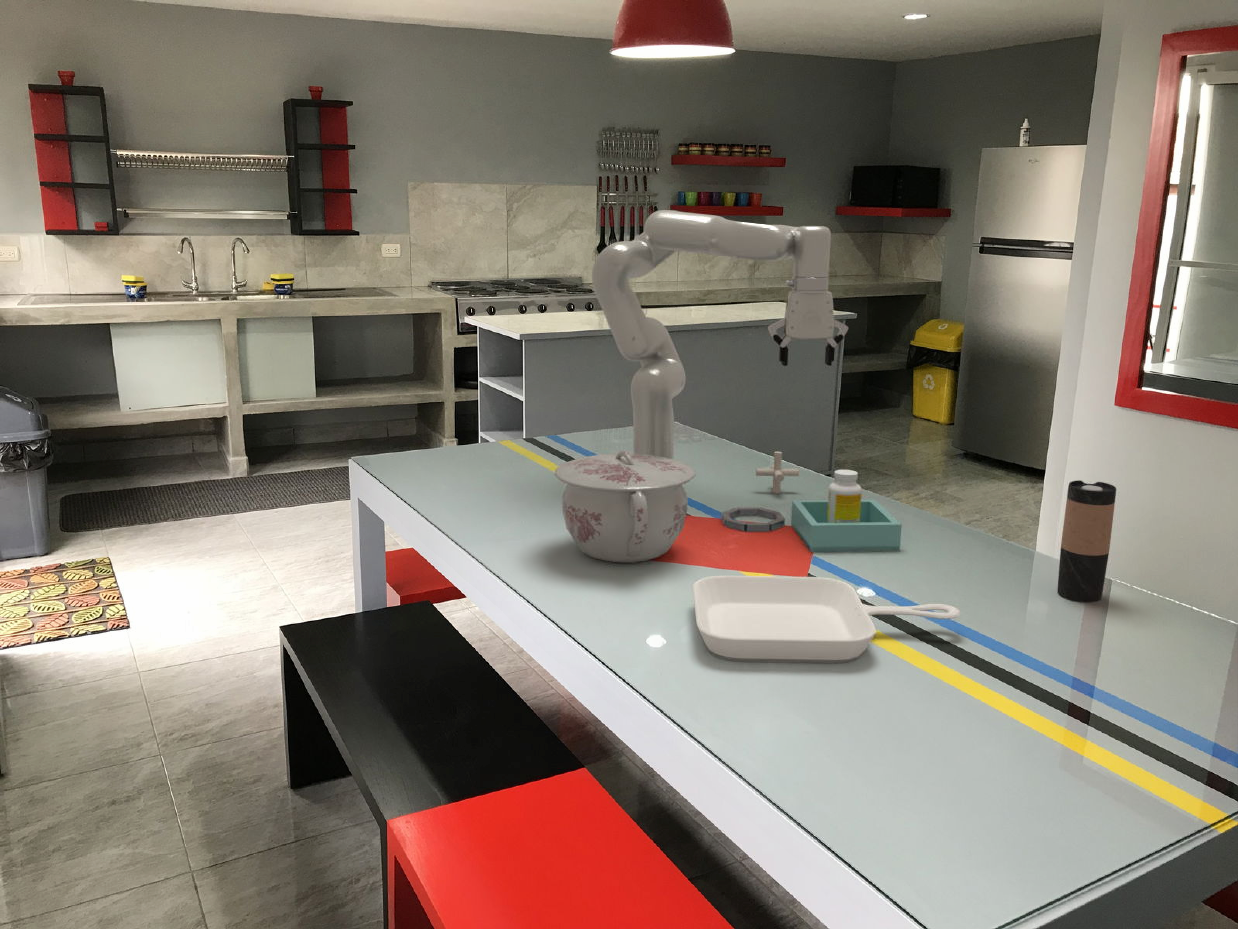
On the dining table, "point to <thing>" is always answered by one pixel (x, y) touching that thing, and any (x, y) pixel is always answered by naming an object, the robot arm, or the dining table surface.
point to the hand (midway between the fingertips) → (806, 364)
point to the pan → (790, 618)
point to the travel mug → (1086, 540)
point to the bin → (845, 528)
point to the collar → (753, 527)
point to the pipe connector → (777, 472)
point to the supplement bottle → (844, 498)
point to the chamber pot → (624, 504)
